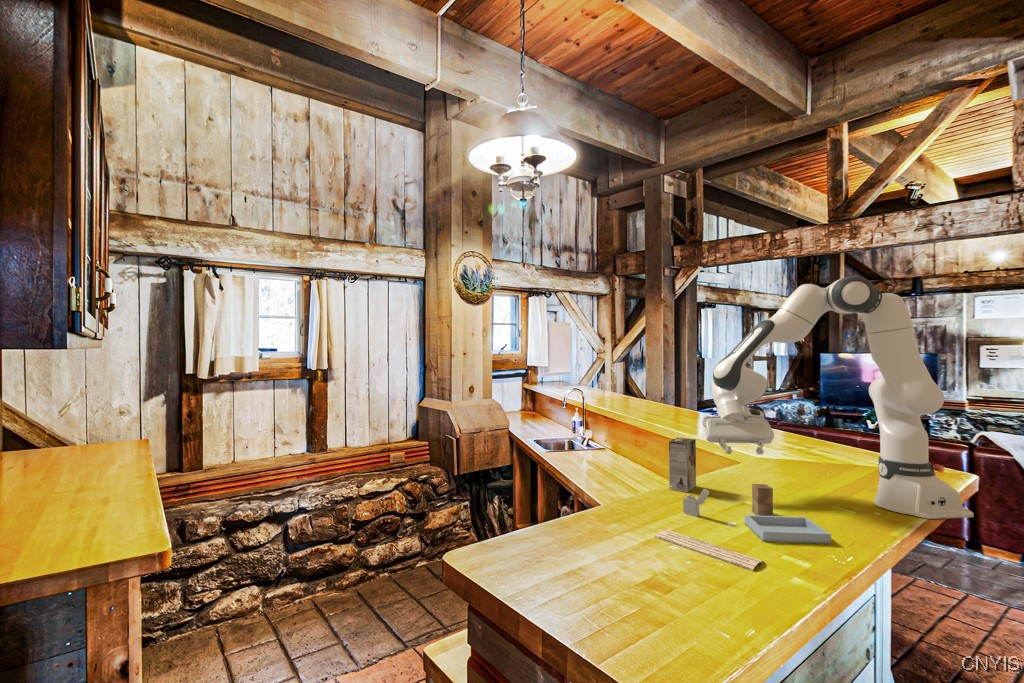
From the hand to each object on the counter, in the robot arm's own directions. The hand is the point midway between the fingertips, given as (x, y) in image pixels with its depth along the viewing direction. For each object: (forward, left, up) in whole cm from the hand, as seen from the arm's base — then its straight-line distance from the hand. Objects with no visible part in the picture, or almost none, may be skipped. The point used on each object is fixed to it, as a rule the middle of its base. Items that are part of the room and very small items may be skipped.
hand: (744, 453), depth 148 cm
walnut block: (0, +13, -14) cm, 19 cm away
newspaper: (+23, +38, -15) cm, 47 cm away
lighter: (+19, +16, -15) cm, 29 cm away
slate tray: (0, +27, -14) cm, 30 cm away
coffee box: (+16, -11, -15) cm, 24 cm away
